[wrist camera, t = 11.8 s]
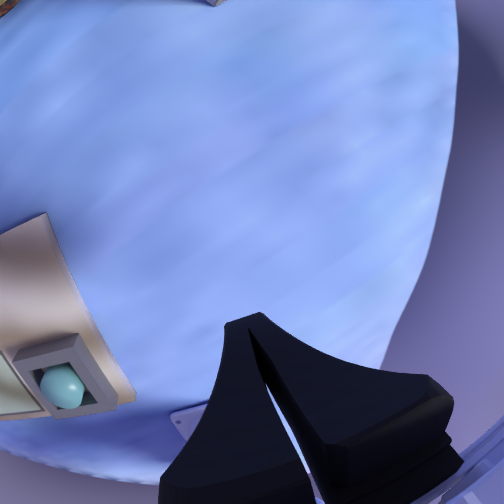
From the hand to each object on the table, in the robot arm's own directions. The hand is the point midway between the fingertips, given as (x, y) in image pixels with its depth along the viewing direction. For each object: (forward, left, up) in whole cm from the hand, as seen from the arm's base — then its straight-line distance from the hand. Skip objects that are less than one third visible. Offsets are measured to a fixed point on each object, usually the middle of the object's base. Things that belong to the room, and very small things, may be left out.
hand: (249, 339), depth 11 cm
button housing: (-5, +14, -8) cm, 17 cm away
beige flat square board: (-2, +18, -9) cm, 20 cm away
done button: (-5, +14, -8) cm, 17 cm away
